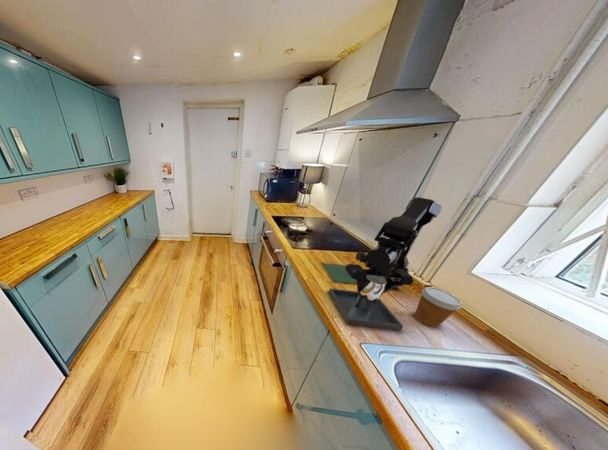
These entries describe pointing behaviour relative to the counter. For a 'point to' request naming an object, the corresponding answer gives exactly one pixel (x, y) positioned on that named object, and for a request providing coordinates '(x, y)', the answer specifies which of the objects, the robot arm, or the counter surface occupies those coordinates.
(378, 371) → the counter surface
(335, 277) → the drying mat
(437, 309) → the disposable coffee cup
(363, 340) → the counter surface
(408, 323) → the counter surface
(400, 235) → the robot arm
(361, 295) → the beer glass
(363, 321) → the dark grey tray
